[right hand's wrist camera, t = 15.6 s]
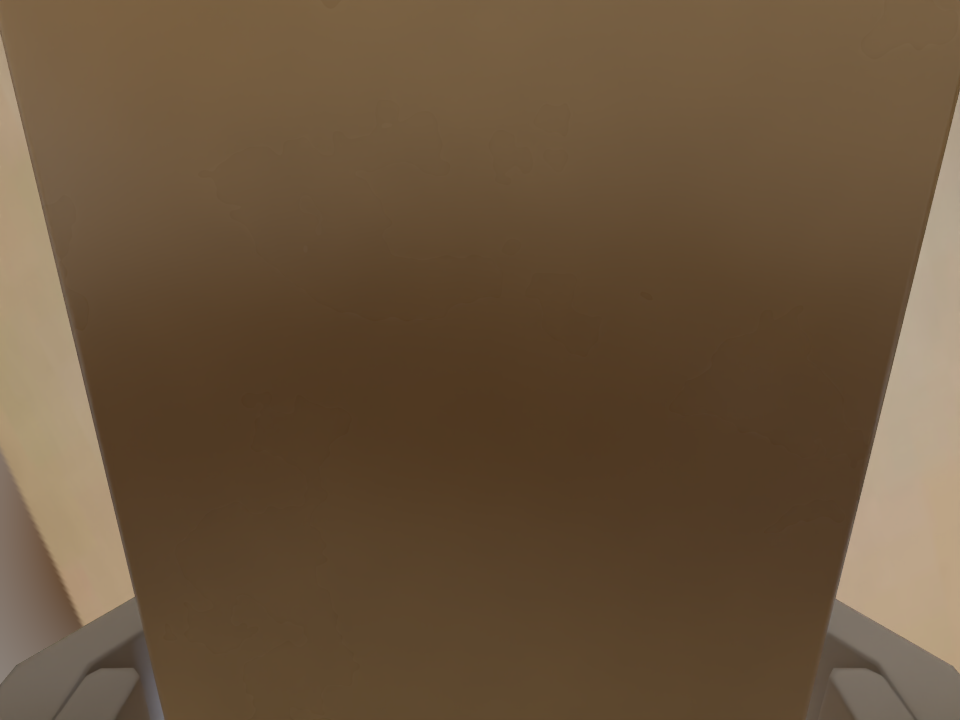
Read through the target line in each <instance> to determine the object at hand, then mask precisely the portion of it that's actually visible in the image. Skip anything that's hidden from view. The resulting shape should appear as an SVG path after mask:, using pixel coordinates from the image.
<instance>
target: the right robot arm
mask: <svg viewBox="0 0 960 720" xmlns="http://www.w3.org/2000/svg"><path fill="white" fill-rule="evenodd" d="M0 720H164V715H163V711H162V707H161V703H160V699H159V695H158V690H157V686H156V682H155V678H154V674H153V669H152V665H151V661H150V657H149V653H148V648H147V644H146V640H145V636H144V632H143V627H142V623H141V619H140V615H139V611H138V607H137V602H136V598H135V597H134V598H132V599H130V600H129V601H127V602H125V603H123V604H122V605H120V606H118V607H116V608H115V609H113V610H111V611H110V612H108V613H106V614H104V615H103V616H101V617H99V618H97V619H96V620H94V621H92V622H91V623H89V624H87V625H85V626H84V627H82V628H80V629H78V630H77V631H75V632H73V633H71V634H70V635H68V636H66V637H65V638H63V639H61V640H59V641H58V642H56V643H54V644H52V645H51V646H49V647H47V648H45V649H44V650H42V651H40V652H39V653H37V654H35V655H33V656H32V657H30V658H28V659H26V660H25V661H23V662H21V663H19V664H18V665H16V666H15V668H14V669H13V670H12V671H11V672H10V674H9V675H8V676H7V677H6V678H5V680H4V681H3V682H2V683H1V684H0ZM806 720H960V674H959V673H958V672H957V670H956V669H955V668H954V667H953V666H952V665H950V664H948V663H946V662H945V661H943V660H941V659H939V658H938V657H936V656H934V655H932V654H931V653H929V652H927V651H926V650H924V649H922V648H920V647H919V646H917V645H915V644H913V643H912V642H910V641H908V640H906V639H905V638H903V637H901V636H899V635H898V634H896V633H894V632H892V631H891V630H889V629H887V628H885V627H884V626H882V625H880V624H878V623H877V622H875V621H873V620H871V619H870V618H868V617H866V616H865V615H863V614H861V613H859V612H858V611H856V610H854V609H852V608H851V607H849V606H847V605H845V604H844V603H842V602H840V601H838V600H837V599H835V602H834V606H833V610H832V614H831V618H830V622H829V626H828V630H827V634H826V638H825V642H824V647H823V651H822V655H821V659H820V663H819V667H818V671H817V675H816V679H815V683H814V687H813V691H812V696H811V700H810V704H809V708H808V712H807V716H806Z"/></svg>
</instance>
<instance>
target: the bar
mask: <svg viewBox="0 0 960 720" xmlns="http://www.w3.org/2000/svg"><path fill="white" fill-rule="evenodd" d="M0 33H1V37H2V41H3V45H4V49H5V54H6V58H7V62H8V66H9V70H10V75H11V79H12V83H13V87H14V91H15V96H16V100H17V104H18V108H19V112H20V116H21V121H22V125H23V129H24V133H25V137H26V142H27V146H28V150H29V154H30V158H31V163H32V167H33V171H34V175H35V179H36V183H37V188H38V192H39V196H40V200H41V204H42V209H43V213H44V217H45V221H46V225H47V230H48V234H49V238H50V242H51V246H52V251H53V255H54V259H55V263H56V267H57V271H58V276H59V280H60V284H61V288H62V292H63V297H64V301H65V305H66V309H67V313H68V318H69V322H70V326H71V330H72V334H73V338H74V343H75V347H76V351H77V355H78V359H79V364H80V368H81V372H82V376H83V380H84V385H85V389H86V393H87V397H88V401H89V405H90V410H91V414H92V418H93V422H94V426H95V431H96V435H97V439H98V443H99V447H100V452H101V456H102V460H103V464H104V468H105V473H106V477H107V481H108V485H109V489H110V493H111V498H112V502H113V506H114V510H115V514H116V519H117V523H118V527H119V531H120V535H121V540H122V544H123V548H124V552H125V556H126V560H127V565H128V569H129V573H130V577H131V581H132V586H133V590H134V594H135V598H136V602H137V607H138V611H139V615H140V619H141V623H142V627H143V632H144V636H145V640H146V644H147V648H148V653H149V657H150V661H151V665H152V669H153V674H154V678H155V682H156V686H157V690H158V695H159V699H160V703H161V707H162V711H163V715H164V720H806V716H807V712H808V708H809V704H810V700H811V696H812V691H813V687H814V683H815V679H816V675H817V671H818V667H819V663H820V659H821V655H822V651H823V647H824V642H825V638H826V634H827V630H828V626H829V622H830V618H831V614H832V610H833V606H834V602H835V597H836V593H837V589H838V585H839V581H840V577H841V573H842V569H843V565H844V561H845V557H846V552H847V548H848V544H849V540H850V536H851V532H852V528H853V524H854V520H855V516H856V512H857V508H858V503H859V499H860V495H861V491H862V487H863V483H864V479H865V475H866V471H867V467H868V463H869V458H870V454H871V450H872V446H873V442H874V438H875V434H876V430H877V426H878V422H879V418H880V413H881V409H882V405H883V401H884V397H885V393H886V389H887V385H888V381H889V377H890V373H891V369H892V364H893V360H894V356H895V352H896V348H897V344H898V340H899V336H900V332H901V328H902V324H903V319H904V315H905V311H906V307H907V303H908V299H909V295H910V291H911V287H912V283H913V279H914V274H915V270H916V266H917V262H918V258H919V254H920V250H921V246H922V242H923V238H924V234H925V230H926V225H927V221H928V217H929V213H930V209H931V205H932V201H933V197H934V193H935V189H936V185H937V180H938V176H939V172H940V168H941V164H942V160H943V156H944V152H945V148H946V144H947V140H948V135H949V131H950V127H951V123H952V119H953V115H954V111H955V107H956V103H957V99H958V95H959V91H960V0H0Z"/></svg>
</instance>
